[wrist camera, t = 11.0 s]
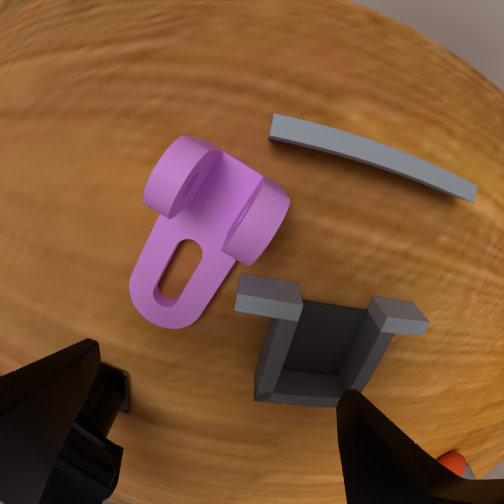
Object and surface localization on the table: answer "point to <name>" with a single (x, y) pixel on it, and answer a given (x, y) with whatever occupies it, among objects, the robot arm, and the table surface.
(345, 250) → the table surface
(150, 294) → the bracket
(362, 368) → the trap pit
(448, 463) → the tomato
